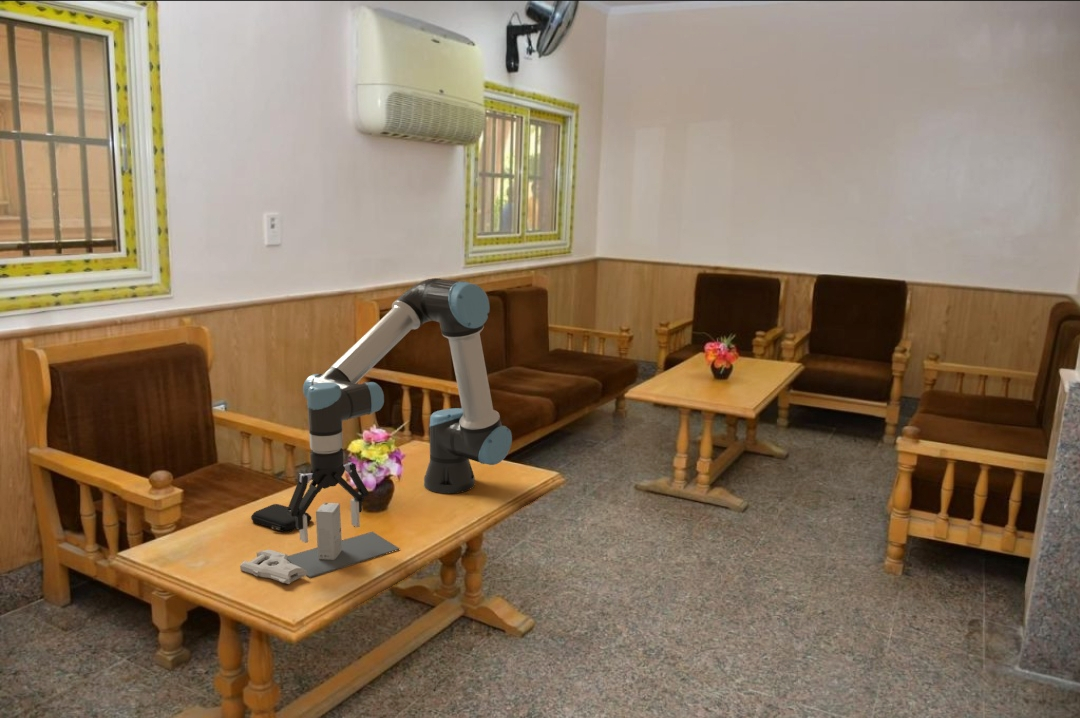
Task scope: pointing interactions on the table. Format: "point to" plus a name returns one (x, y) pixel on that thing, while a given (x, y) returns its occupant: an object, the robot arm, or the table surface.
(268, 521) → the carrying case or bag
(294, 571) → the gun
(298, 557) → the mat
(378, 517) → the table surface
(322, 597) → the table surface
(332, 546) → the skincare box
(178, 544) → the table surface
